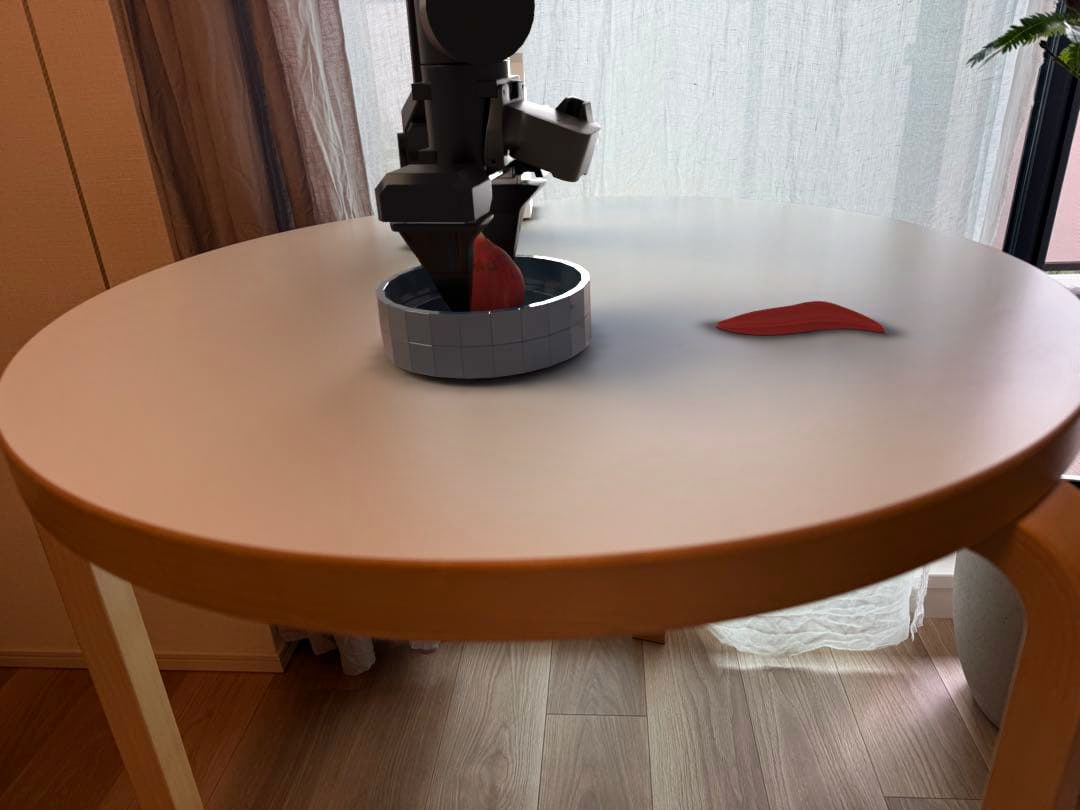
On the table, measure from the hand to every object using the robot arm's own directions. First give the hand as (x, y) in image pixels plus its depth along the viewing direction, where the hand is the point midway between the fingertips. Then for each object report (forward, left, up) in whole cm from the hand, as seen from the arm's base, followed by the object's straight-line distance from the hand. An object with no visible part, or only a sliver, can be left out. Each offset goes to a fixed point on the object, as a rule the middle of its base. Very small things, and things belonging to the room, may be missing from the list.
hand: (484, 296), depth 59 cm
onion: (0, 0, -4) cm, 4 cm away
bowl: (0, 0, -4) cm, 4 cm away
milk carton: (-14, +47, -4) cm, 49 cm away
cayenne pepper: (+22, +7, -4) cm, 23 cm away
